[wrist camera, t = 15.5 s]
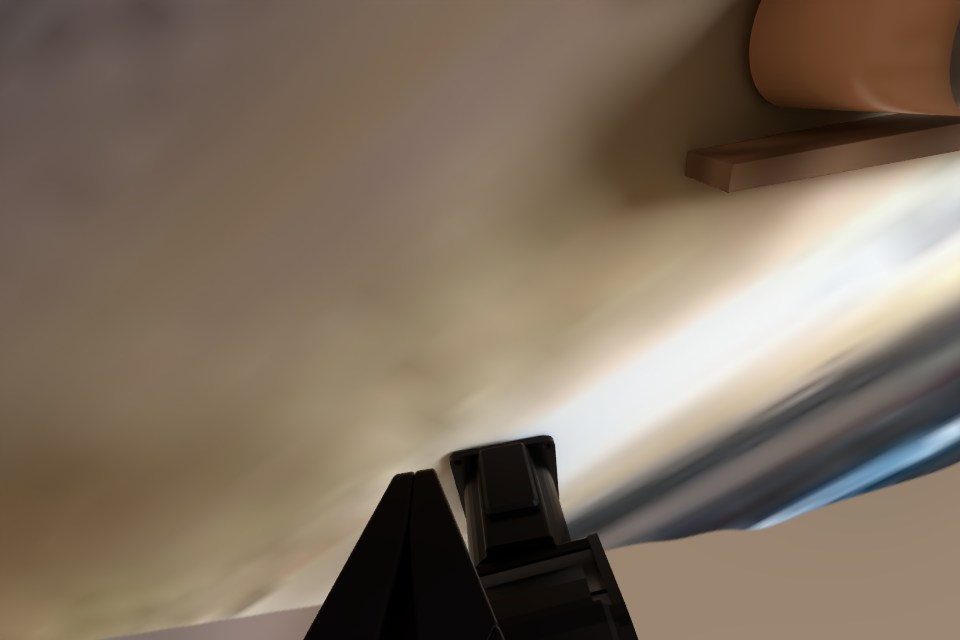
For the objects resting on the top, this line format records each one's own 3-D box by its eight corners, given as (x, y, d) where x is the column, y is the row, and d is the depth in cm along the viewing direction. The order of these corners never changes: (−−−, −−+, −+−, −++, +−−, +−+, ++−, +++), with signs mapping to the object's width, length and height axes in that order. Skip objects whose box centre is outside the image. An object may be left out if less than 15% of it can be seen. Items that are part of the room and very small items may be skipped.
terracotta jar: (865, 91, 17) (1145, 93, 11) (737, 128, 16) (952, 152, 10) (912, -102, 14) (1344, -254, 8) (757, -62, 13) (1080, -189, 7)
